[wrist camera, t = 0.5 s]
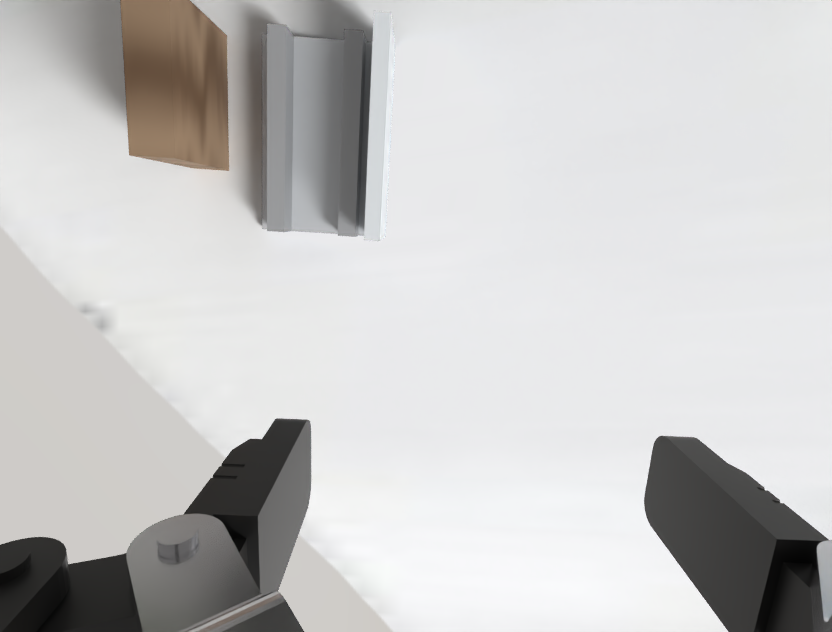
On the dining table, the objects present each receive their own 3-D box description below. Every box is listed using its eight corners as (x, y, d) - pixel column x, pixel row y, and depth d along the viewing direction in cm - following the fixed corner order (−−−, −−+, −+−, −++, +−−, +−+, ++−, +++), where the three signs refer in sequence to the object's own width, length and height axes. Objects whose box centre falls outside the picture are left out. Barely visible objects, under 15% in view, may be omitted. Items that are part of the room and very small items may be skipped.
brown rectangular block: (189, 32, 33) (118, -24, 25) (227, 35, 33) (168, -20, 25) (193, 168, 35) (129, 155, 27) (229, 170, 35) (175, 158, 27)
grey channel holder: (265, 38, 33) (233, 0, 27) (395, 47, 33) (391, 12, 27) (265, 228, 36) (236, 231, 30) (385, 236, 36) (379, 241, 30)
